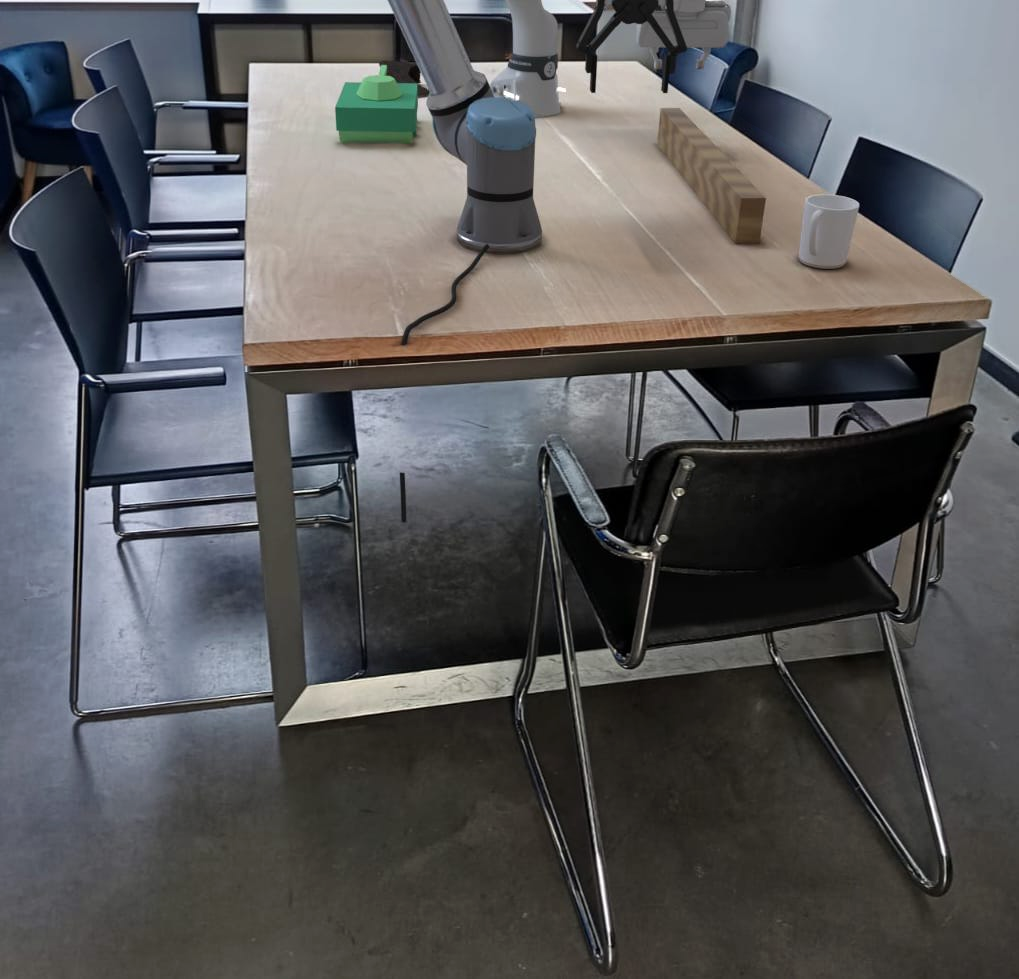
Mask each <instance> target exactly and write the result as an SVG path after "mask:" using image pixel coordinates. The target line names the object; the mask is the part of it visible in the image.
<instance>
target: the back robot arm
mask: <svg viewBox="0 0 1019 979" xmlns="http://www.w3.org/2000/svg"><path fill="white" fill-rule="evenodd" d="M673 1H674V13H675V16H676V19H677V21H678V24H679V27H680V30H681V32H682V35H683V38H684V40H685V43H686V46H687V48H691V49H692V48H701V51H702V52H703V53H702V55H701V57H700V58H699V59H695V69H696V70H704V68H705V62H706V60H707V59H708V57H709V56H710V54H711V52H712V49H715V48H716V49H718V48H719V49H721V48H722V49H724V48H725V47H726V45H727V44H728V41H729V22H730V21H731V16H732V7H731V5H729V4H728V3H726V1H721V0H720V1H714V0H713V1H710V0H673ZM505 3H506V5H507V8H508V9H509V12H510V16H511V23H512V52H511V53H506V54H505V56H507V57H505V58H504V59H505V60H508V61H507V62H508V63H507V67H506V68H504V69H503V71H501V72H500V73H499V74H498V75H496V77H494V78H493V79H492V80H491V82H490V83H489V85H490V88H491V90H492V92H493V95H494V97H500V98H508V99H511V100H513V101H520V102H522V103H524V104H526V105H527V106H529V107H530V108H531V109H532V111H533V113H534V115H535V118H536V117H537V118H538V117H548V116H549V117H550V116H554V115H558V114H560V113H561V112H562V111H561V107H562V104H561V102H560V95H559V92H565V93H566V92H567V90H566V88H564V87H559V77H558V74H557V70H558V68H559V54H558V53H557V51H558V50H557V47H558V46H557V45H558V26H559V25H558V21H557V19H556V17H555V16H554V15H553V13H551V12H550V11H548V10H546V9H545V7H544V6H543V2H542V0H505ZM652 15H653V17H654V18H655V20H656V21H657V23H658V24H659V26H660V27H661V28H662V30H663V31H664V33H665V34H666V36H667V37H668V39H669V40H670V41H671V43H672V44H673V46H676V45H677V43H676V40H675V37H674V35H673V32H672V29H671V26H670V24H669V21H668V18H667V16H666V13H665V11H663V10H662V9H661V6H660V5H658V7H657V8H656V9H655V11H654V12H653V13H652ZM634 41H635V44H636V45H637V46H638V47H640V48H650V50H649V52H650V53H651V56H652V58H653V68H654V69H655V70H663V60H662V59H661V58H659V57H658V55H657V53H659V50H660V49H659V48H666V47H665V46H664V44H663V43H662V42H661V40H660V39H659V37H658V36H657V34H656V33H655V32H654V30H653V29H652V27H651V26H650V24H649V23H648V22H647V21H646V22H645V23H643V24H636V29H635V36H634ZM399 62H409V61H408V60H405V59H404V58H402V57H401V58H399Z"/></svg>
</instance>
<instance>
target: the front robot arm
mask: <svg viewBox="0 0 1019 979" xmlns="http://www.w3.org/2000/svg"><path fill="white" fill-rule="evenodd" d="M387 2H388V4H389V7H390V8H391V11H392V13H393V15H394V17H395V19H396V22H397V24H398V26H399V29H400V30H401V33H402V35H403V37H404V39H405V41H406V43H407V46H408V48H409V50H410V52H411V54H412V57H413V58H414V61H415V63H417V65H418V67H419V69H420V75H421V76H422V78H423V80H424V82H425V85H426V88H427V89H428V90H429V91H430V93H429V95H427V99H426V102H425V103H426V104H425V105H426V107H427V109H428V111H429V113H430V115H431V118H432V119H431V121H432V122H431V123H432V129H433V133H434V135H435V137H436V140H437V141H438V143H439V144H440V146H441V147H442V148H443V150H445V152H447V153H448V154H450V155H451V156H453V157H455V159H458V160H459V161H460V162H462V163H463V164H465V165H466V192H467V193H466V198H465V202H464V205H463V209H462V211H461V214H460V218H459V220H458V224H457V227H456V241H457V243H458V244H459V245H461V246H462V247H464V248H466V249H468V250H470V251H475V252H478V253H477V255H476V256H475V258H474V259H473V261H472V262H471V264H469V266H468V267H467V268H466V269H465V270H464V271H463V272H461V273H460V274H459V275H458V276H457V277H456V278H455V279H454V281H453V282H452V284H451V289H450V291H451V299H450V301H449V302H447V303H446V304H445V305H443V306H441V307H439V308H438V309H434V310H433V311H430V312H428V313H425V314H424V315H422V316H420V317H418V318H417V319H415V320H414V321H413V322H411V323H409V324H408V325H407V326H406V327H405V329H404V330H403V331H404V332H403V335H402V337H401V342H400V345H401V346H406V345H407V343H408V339H409V336H410V334H411V331H412V330H413V329H414V328H417V327H418V326H419V325H421V324H423V323H424V322H425V321H427V320H429V319H432V318H434V317H436V316H439V315H441V314H443V313H445V312H447V311H448V310H450V309H451V308H452V307H453V306H454V305H455V303H456V302H457V299H458V298H457V295H458V294H457V287H458V285H459V283H460V282H461V281H462V280H464V278H465V277H467V276H468V275H469V274H470V273H471V272H472V271H473V270H474V268H476V266H477V265H478V263H479V262H480V260H481V259H482V257H483V256H484V255H485V253H486V254H497V255H499V254H500V255H506V254H507V255H508V254H517V253H524V252H527V251H530V250H533V249H536V248H538V247H539V246H540V245H541V244H542V243H543V229H542V224H541V221H540V220H541V219H540V218H539V214H538V213H539V212H538V210H537V206H536V204H535V199H534V184H535V181H534V180H535V158H536V156H535V155H536V138H537V127H536V117H535V115H534V113H533V111H532V109H531V108H530V107H529V106H527V105H526V104H524V103H522V102H520V101H513V100H511V99H508V98H500V97H494V95H493V92H492V90H491V88H490V83H489V80H488V78H487V76H486V75H485V74H484V73H482V72H480V71H477V70H475V69H474V67H473V65H472V63H471V61H470V59H469V56H468V54H467V51H466V49H465V47H464V44H463V42H462V40H461V37H460V35H459V32H458V31H457V28H456V25H455V23H454V21H453V19H452V17H451V14H450V12H449V10H448V7H447V5H446V2H445V0H387ZM658 5H660V6H661V9H662V10H663V11H665V13H666V16H667V18H668V21H669V24H670V26H671V29H672V32H673V35H674V37H675V40H676V43H677V45H676V46H673V44H672V43H671V41H670V40H669V39H668V37H667V36H666V34H665V33H664V31H663V30H662V28H661V27H660V26H659V24H658V23H657V21H656V20H655V18H654V17H653V15H652V13H653V12H654V11H655V9H656V8H657V7H658ZM609 6H611V7H612V9H613V10H614V13H613V14H612V16H611V17H610V19H609V20H608V21H607V22H606V24H605V25H604V26H603V27H602V28H601V29H600V31H599V32H598V33H597V34H596V35H595V37H594V38H593V39H592V40H591V42H589V40H590V38H591V37H592V36H593V33H594V31H595V29H596V27H597V25H598V23H599V21H600V19H601V17H602V16H603V13H604V11H606V10H608V8H609ZM646 21H647V22H648V23H649V24H650V26H651V27H652V29H653V30H654V32H655V33H656V34H657V36H658V37H659V39H660V40H661V42H662V43H663V44H664V46H665V47H664V48H665V49H666V50H667V52H668V53H664V54H663V61H662V74H661V86H660V91H661V92H662V93H663V94H668V92H669V81H670V75H671V74H672V75H674V74H675V72H676V64H677V56H678V55H679V54H682V53H685V52H687V51H688V47H687V46H686V43H685V40H684V38H683V35H682V32H681V30H680V27H679V24H678V21H677V19H676V16H675V13H674V1H673V0H595V7H594V9H593V11H592V14H591V15H590V17H589V19H588V21H587V23H586V24H585V27H584V29H583V31H582V33H581V35H580V37H579V38H578V41H577V43H576V49H577V51H578V52H581V53H583V54H585V62H584V64H585V65H584V70H585V72H586V74H590V76H589V77H590V78H589V80H590V81H589V92H591V93H590V94H596V90H597V73H598V55H597V53H596V51H597V50H598V49H599V48H600V46H602V44H603V43H604V42H605V41H606V40H607V39H608V38H609V36H610V35H611V34H612V33H613V32H614V30H615V29H616V28H617V27H618V26H619V25H620V24H621V23H623V24H625V25H631V24H632V25H633V24H636V25H637V24H643V23H645V22H646ZM588 42H589V43H588ZM399 490H400V518H401V519H400V521H401V523H403V524H404V523H407V496H406V495H407V494H406V493H407V492H406V473H405V472H401V471H399Z"/></svg>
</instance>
